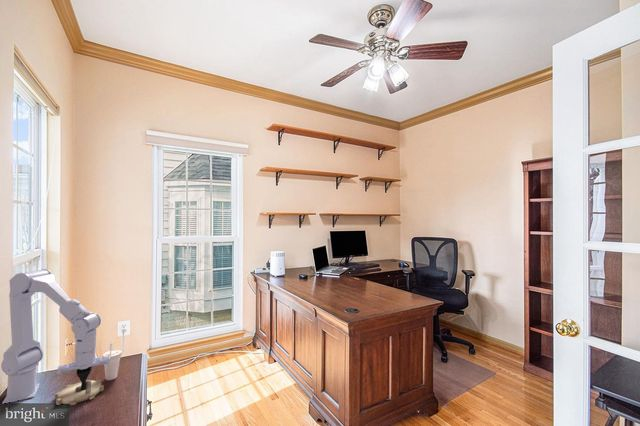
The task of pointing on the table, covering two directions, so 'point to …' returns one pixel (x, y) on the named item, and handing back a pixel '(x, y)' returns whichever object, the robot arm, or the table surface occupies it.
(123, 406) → the table surface
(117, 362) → the smoothie
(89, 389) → the sprocket
